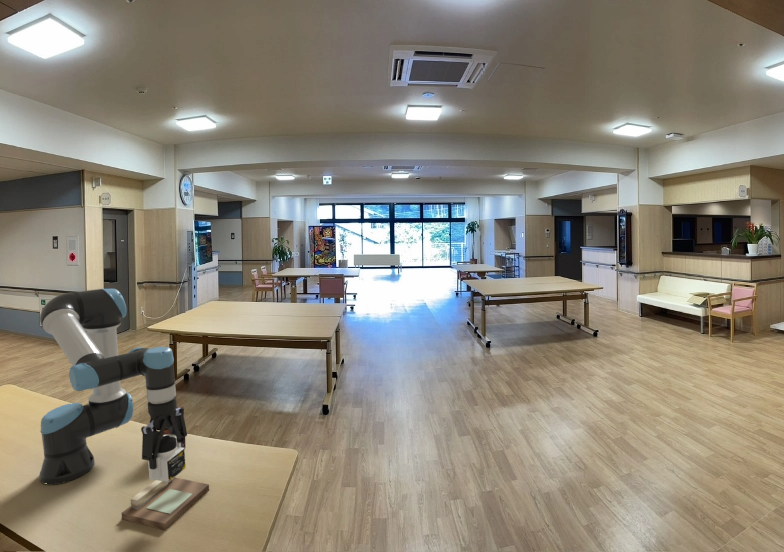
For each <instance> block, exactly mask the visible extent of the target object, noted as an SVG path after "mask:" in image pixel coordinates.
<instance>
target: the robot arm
mask: <svg viewBox="0 0 784 552" xmlns="http://www.w3.org/2000/svg"><path fill="white" fill-rule="evenodd" d="M127 310H128V309H127V304H126V302H125V299H124V297H123V295H122V293H121V292H120V291H119V290H118V289H116V288H98V289H91V290H89V289H88V290H82V291H80V290H79V291H73V292H64V293H62V294H59V295H55V297H53V298H51V299H50V300H49V301H48V302H47V303H45V305H44V306H43V308H42V310H41V313H40V317H39V322H40V325H41V327H42V329H43V330H44V331H45V333H47V334H48V335H52V337H53V339H55V341H56V343H57V344H58V346H59V347H60V349H61V351H62V352H63V354H64V355H65V356H66V358H67V359H68V361H69V363H70V365H71V367H70V368H69V370H68V377H69V383H70V384H71V385H70V386H71V388H72V389H73V390H74V391H76V392H82V391H87V390H92V394H90V395H89V397H88V399H87V400H88V403H87V404H84V405H83V404H82V403H80V402H73V403H67V404H64V405H61V406H58V407H55V408H53V409H51V410H50V411H48V412H47V413H46V414H45V415H43V416H42V417H41V421H40V433H41V439H42V447H43V455H44V458H43V462H42V465H41V469H40V472H39V480H40V482H43V483H47V484H54V485H59V483H60V484H64V483H63V482H65V483H68V482H71V481H74V480H76V479H78V478H80V477H82V476H83V475H86V474H88V473H89V472H90V471H91V470H92V469H93V468H94V467H93V466H95V464H96V463H95V456H94V455H93V453H92V452H91V450H90V448H89V447H88V445H87V439H88V438H89V437H93V436H96V435H98V434H101V433H104V432H107V431H110V430H112V429H113V430H114V429H117V428H119V427H120V426H123V425H125V424H127V423H129V422H130V421H131V419H132V418H133V415H134V407H135V406H134V401H133V397H132V395H131V393H129V392H127V391H126V389H124V388H123V387H122V386H121V385H122V383H121V381H124V380H127V379H128V380H129V379H131V378H135V377H139V376H143V377H144V378H145V379H144V380H145V388H146V399H147V413H148V416H149V417H150V420H149V423H148V424H147V425H146V426H145V425H144V426H141V429H140V431H141V434H142V438H141V439H142V442H141V443H142V445H141V460H144V461H147V462H148V461H149V467H150V469H151V470H152V477H154V478H159V479H160V478H161V465H160V457H158V456H157V455H158V451H159V446H160V442H161V437H162V434H164V430H165V429H166V428H168V430H169V431H170V433H171V434H173V435H175V436H176V437H177V447H182V442H184V441H185V442H186V438H187V436H188V432H187V427H186V421H185V408H184V409H183V408H179V407H178V405H177V404H178V402H177V397H176V396H177V390H176V379H175V378H176V377H175V358H174V354H173V350H172V348H170V347H168V346H155V347H152V348H151V347H150V348H148V347H147V348H146V347H143V346H142V347H141V346H140V347H138V346H137V347H135V348H133V349H131V350H130V351H129V352H127V353H123V354H119V345H118V334H117V332H118V331H117V328H119V326H121V324H122V321H121V320H122V319H124V318H125V317H126V316H127V313H128V312H127ZM174 418H175V419H174ZM184 437H185V438H184ZM89 470H90V471H89ZM88 471H89V472H88ZM85 473H86V474H85ZM43 483H42V484H43ZM47 484H46V485H47Z"/></svg>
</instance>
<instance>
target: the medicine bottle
mask: <svg viewBox="0 0 784 552" xmlns="http://www.w3.org/2000/svg"><path fill="white" fill-rule="evenodd" d="M185 454H186V453H185V449H184V448H182V447H177V437H176V436H175V435H173V434H167V435H163V436H162V437H161V442H160V446H159V451H158V455H157V456H158V457H160V465H161V478H160V479H159V478H154V477H152V470H151V469H150V467H149V461H148V460H147V464H148V474H149V475H148V476H149V477H148V478H149V480H151V481H152V480H153V481H156V480H158V481H165V482H170V481H171V480H172V479H173V478H177V476H178V475H180V473H182V472H183V471H184V470H185V469H186V467H187V466H186V455H185Z"/></svg>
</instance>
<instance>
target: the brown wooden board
mask: <svg viewBox="0 0 784 552" xmlns="http://www.w3.org/2000/svg"><path fill="white" fill-rule="evenodd" d="M208 491H210V484H209V483H203V482H199V481H195V480H194V481H193V480H190V479H184V478H179V477H175V478H173V479H172V482H171V483H169V484H168V485H166V486H165V487H164V488H162V489H161V490H160V491H159V492H157V493H156V494H155V495H154V496H152V497H151V498H150V499H149V500H147V501H146V502H145V503H144V504H142V505H141V506H140V507H138V508H134V507H131V505H130V506H129V507H127V508H126V509H125V510H123V512H121V520H124V521H128V522H132V523H136V524H138V525H139V524H140V525H144V526H148V527H151V528H155V529H159V530H163V531H166V530H167V529H168V528H170V526H171V525H173V524H174V522H176V521H177V520H178V519H179V518H180V517H182V515H184V514H185V512H187V511H188V510H189V509H190V508H191V507H192V506H193V505H194V504H195V503H196V502H198V501H199V500H200V499H201V498H202V497H204V495H206V493H208Z"/></svg>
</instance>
